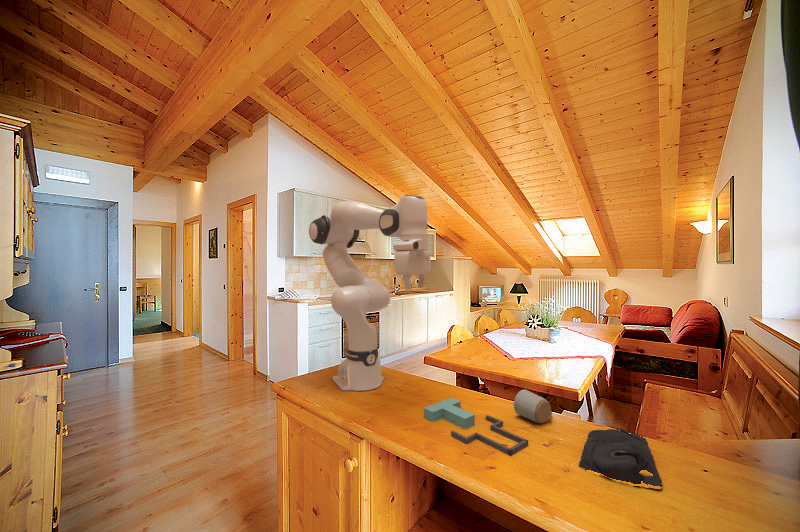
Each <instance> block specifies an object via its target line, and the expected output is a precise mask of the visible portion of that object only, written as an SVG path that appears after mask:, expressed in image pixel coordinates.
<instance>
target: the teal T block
mask: <svg viewBox="0 0 800 532" xmlns="http://www.w3.org/2000/svg"><path fill="white" fill-rule="evenodd" d="M461 407H462V406H461V401H460V400H458V399H456V398H452V397H450V398H446V399H444V400H441V401H439V402H436V403H433V404H431V405H427V406H425V407H423V418H424V419H426V420H428V421H430V422H432V423H434V421H435V422H437V421H440V420H441V419H443V418H444V419H443V420H445V419H446V420H445V421H447V420H448V422H449V421H450V423H451V422H452V423H451V424H453V425H456V426H458V427H459V428H462V429H464V430H467V429H469V428H471V427H474V426H475V425H476V418H475V417H476V416H475V414H474V413H472V412H469V411H467V410H465V409H462V408H461ZM439 419H440V420H439Z"/></svg>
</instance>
